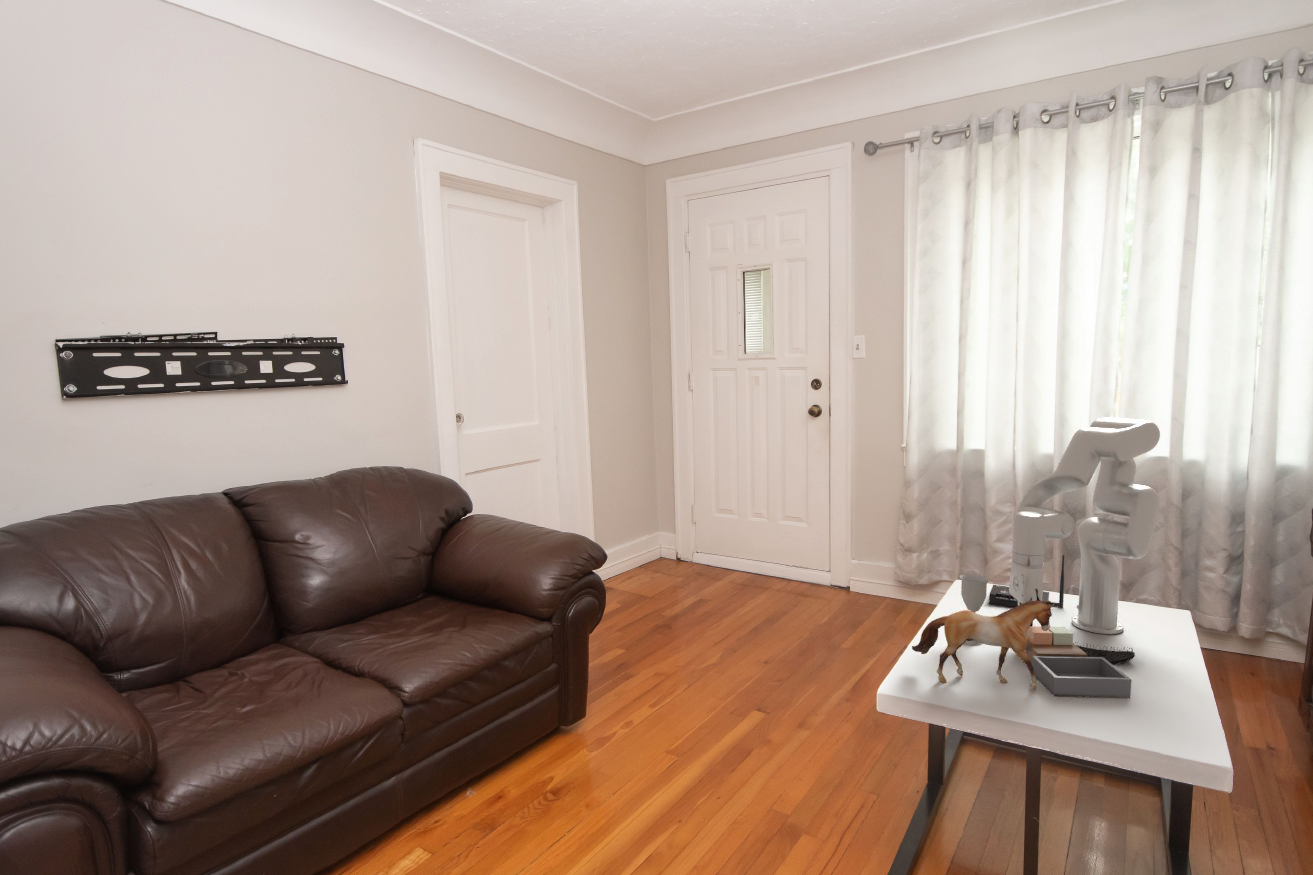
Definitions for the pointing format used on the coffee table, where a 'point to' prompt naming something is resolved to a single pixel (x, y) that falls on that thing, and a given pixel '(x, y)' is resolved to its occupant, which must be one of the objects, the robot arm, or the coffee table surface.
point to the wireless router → (1004, 598)
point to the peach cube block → (1039, 635)
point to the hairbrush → (1109, 654)
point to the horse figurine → (987, 634)
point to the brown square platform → (1053, 650)
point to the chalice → (973, 594)
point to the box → (1081, 677)
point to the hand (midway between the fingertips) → (1025, 625)
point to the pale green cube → (1061, 636)
